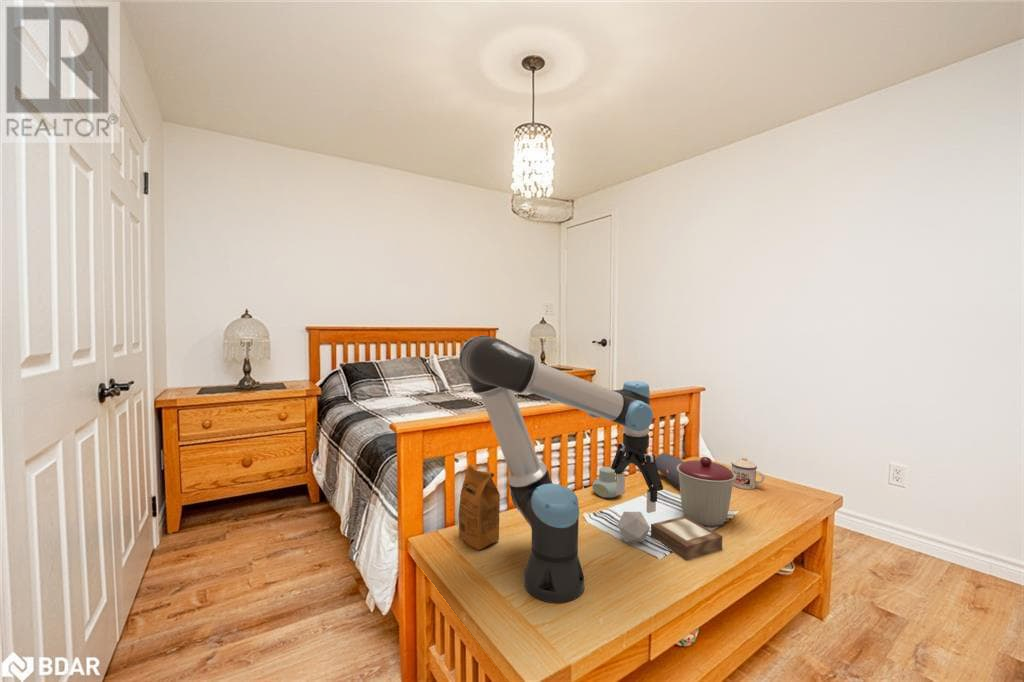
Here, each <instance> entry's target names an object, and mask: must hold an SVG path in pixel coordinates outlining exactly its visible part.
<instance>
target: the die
mask: <svg viewBox="0 0 1024 682" xmlns="http://www.w3.org/2000/svg"><path fill="white" fill-rule="evenodd" d="M617 528H618V530H619V532H620V534H621V536H622V538H623V539H624V541H625V543H644V542H645V539H646V537H647V535H648V534H649V531H650V530H651V526H650V525H649V523H648V522H647V519H646V517H645V516H644V515H643V513H642V512H641V511H623V513H622V515H621V517H620V519H619V521H618V522H617ZM643 541H644V542H643Z"/></svg>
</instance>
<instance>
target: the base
mask: <svg viewBox="0 0 1024 682" xmlns="http://www.w3.org/2000/svg"><path fill="white" fill-rule="evenodd" d="M651 536H652V537H653V538H655V539H656V540H658V541H660V542H661V543H662V544H664V545H665V546H667V547H668V548H669V549H668V548H667V547H666V548H667V549H668V550H670V549H671V550H672V551H671V550H670V551H671V552H673V553H675V554H676V555H677V556H679V557H680V558H682V559H684V560H685V561H689V560H693V559H696V558H700V557H702V556H705V555H709V554H712V553H714V552H715V553H716V552H718V551H721V550H723V535H721V534H719V533H717V532H716V531H714V530H712V529H710V528H708V527H706V525H701V524H699V523H697V522H695V521H693V520H692V519H690V518H688V517H686V516H685V515H683V516H678V517H675V518H670V519H666V520H663V521H659V522H655V523H651V524H650V537H651ZM652 537H651V538H652ZM653 538H652V539H653ZM655 539H654V540H655ZM656 540H655V541H656ZM658 541H657V542H658ZM661 543H660V544H661ZM662 544H661V545H662ZM664 545H663V546H664ZM665 546H664V547H665Z"/></svg>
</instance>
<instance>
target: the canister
mask: <svg viewBox="0 0 1024 682" xmlns="http://www.w3.org/2000/svg"><path fill="white" fill-rule="evenodd" d="M677 471H678V472H679V482H680V488H679V494H680V503H681V509H682V513H683V516H686V517H688V518H690V519H692V520H693V521H695V522H697V523H699V524H701V525H703V526H705V527H706V526H708V527H715V526H721V525H722V524H723V523H725V522H726V520H727V518H728V513H729V509H730V504H731V503H730V502H731V497H732V491H733V487H734V486H733V480H734V479H735V478H736V474H735V473H734V472H733V471H732V469H730V468H729V467H727V466H724V465H723V464H721V463H716V462H713V461H712V459H711V458H710V457H708V456H702V457H701V458H700V459H699V460H698V459H697V460H694V459H693V460H687V461H686V460H685V461H683V463H681V464H679V465H678V466H677Z"/></svg>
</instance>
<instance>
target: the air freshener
mask: <svg viewBox="0 0 1024 682" xmlns="http://www.w3.org/2000/svg"><path fill="white" fill-rule="evenodd" d="M598 472H599V475H598V478H597V479H595V480H594V481H593V483H592V484H591V485H592V487H591V488H592V490H593V492H594V493H595V494H597V495H598V496H600V497H601V498H603V499H604V498H605V499H612V498H616V497H618V496H619V495H617V494H616V473H615V470H614V469H611V466H601V467H600V468H599V471H598Z"/></svg>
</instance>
